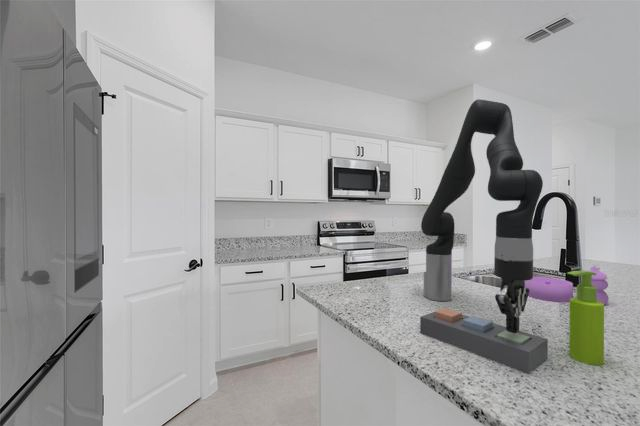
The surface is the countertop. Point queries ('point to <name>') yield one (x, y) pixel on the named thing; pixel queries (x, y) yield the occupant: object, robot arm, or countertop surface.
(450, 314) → the terracotta button
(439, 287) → the robot arm
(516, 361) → the button panel
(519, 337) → the sage green button
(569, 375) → the countertop surface
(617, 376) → the countertop surface
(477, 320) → the slate blue button
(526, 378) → the countertop surface
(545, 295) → the container set
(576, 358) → the soap dispenser
